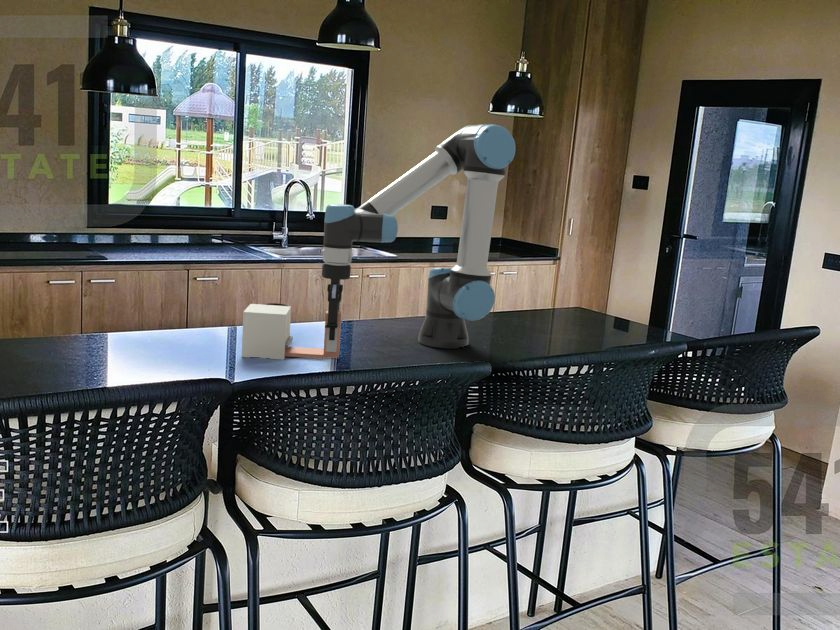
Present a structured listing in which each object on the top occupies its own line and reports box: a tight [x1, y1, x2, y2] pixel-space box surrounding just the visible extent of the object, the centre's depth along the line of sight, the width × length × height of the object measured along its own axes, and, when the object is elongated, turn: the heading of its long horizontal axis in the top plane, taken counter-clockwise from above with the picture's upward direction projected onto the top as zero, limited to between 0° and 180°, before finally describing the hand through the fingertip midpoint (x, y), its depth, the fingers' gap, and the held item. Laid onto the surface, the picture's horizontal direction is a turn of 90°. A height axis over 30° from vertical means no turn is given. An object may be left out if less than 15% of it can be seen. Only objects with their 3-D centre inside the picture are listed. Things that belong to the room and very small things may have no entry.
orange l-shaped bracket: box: [285, 309, 343, 360], centre depth 226 cm, size 18×7×12 cm, turn 92°
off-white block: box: [241, 303, 294, 361], centre depth 225 cm, size 12×12×12 cm
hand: (331, 349), depth 227 cm, fingers closed on orange l-shaped bracket, 4 cm apart
